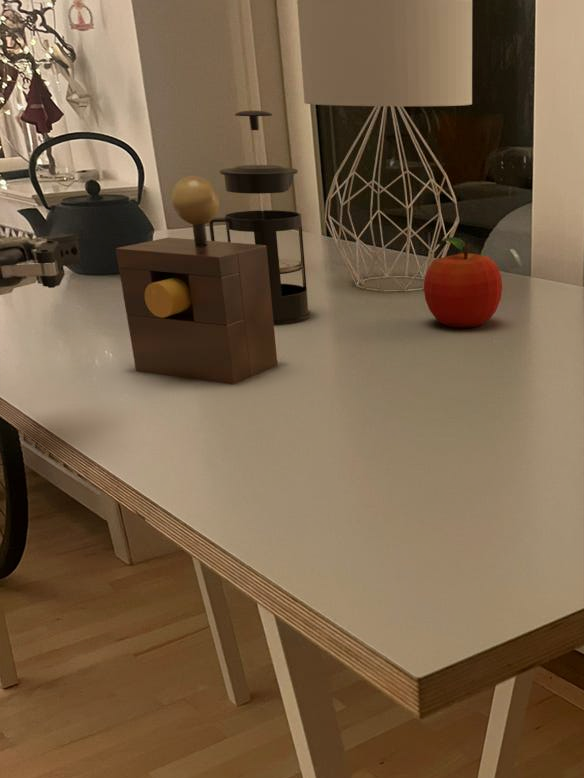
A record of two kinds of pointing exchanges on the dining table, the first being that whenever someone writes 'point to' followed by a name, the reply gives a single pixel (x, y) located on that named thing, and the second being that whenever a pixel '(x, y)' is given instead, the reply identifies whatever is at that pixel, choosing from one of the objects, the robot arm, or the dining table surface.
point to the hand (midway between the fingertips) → (72, 247)
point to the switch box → (200, 299)
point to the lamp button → (167, 297)
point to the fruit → (462, 287)
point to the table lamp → (387, 85)
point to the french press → (268, 228)
